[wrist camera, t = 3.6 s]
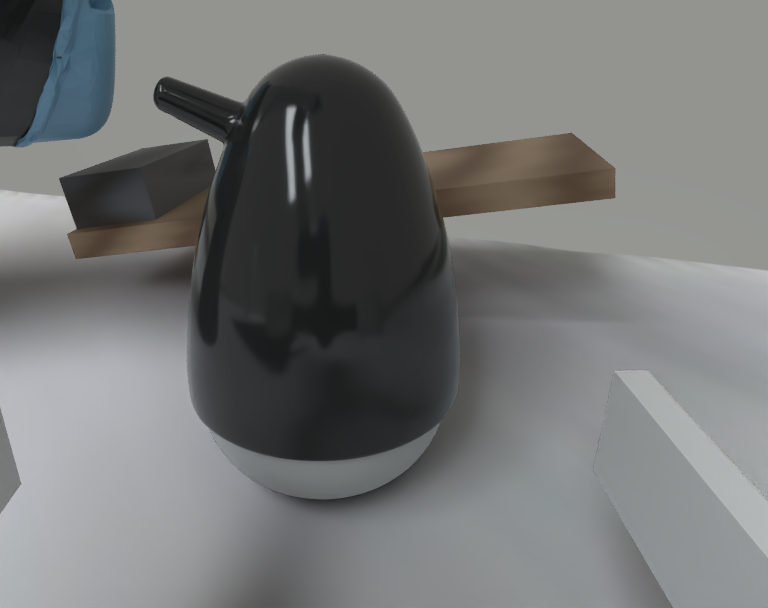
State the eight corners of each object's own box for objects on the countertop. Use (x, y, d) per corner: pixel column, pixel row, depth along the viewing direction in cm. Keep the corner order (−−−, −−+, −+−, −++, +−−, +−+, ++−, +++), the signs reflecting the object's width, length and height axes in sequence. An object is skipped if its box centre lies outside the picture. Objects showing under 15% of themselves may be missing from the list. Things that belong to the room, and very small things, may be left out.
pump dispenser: (223, 384, 29) (192, 45, 23) (436, 386, 30) (461, 53, 24) (159, 548, 20) (77, 54, 14) (469, 546, 20) (525, 67, 14)
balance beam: (75, 258, 35) (48, 182, 33) (165, 206, 46) (148, 146, 44) (615, 198, 30) (615, 105, 29) (572, 155, 41) (570, 86, 39)
